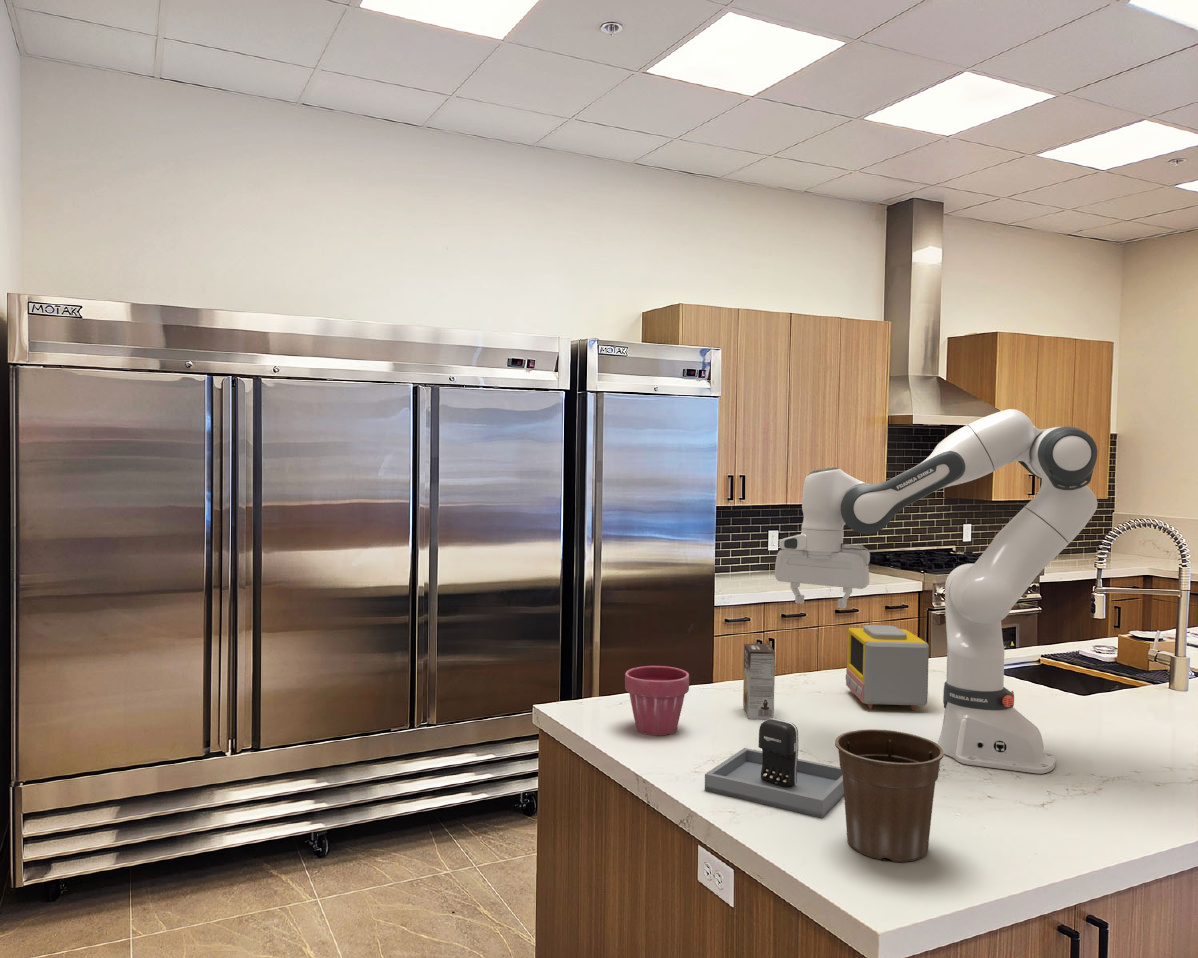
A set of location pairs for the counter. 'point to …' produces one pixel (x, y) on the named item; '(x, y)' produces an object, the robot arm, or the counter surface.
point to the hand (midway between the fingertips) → (820, 605)
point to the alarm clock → (887, 666)
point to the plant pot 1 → (656, 697)
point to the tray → (808, 796)
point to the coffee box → (759, 681)
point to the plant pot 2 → (888, 792)
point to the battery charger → (779, 752)
